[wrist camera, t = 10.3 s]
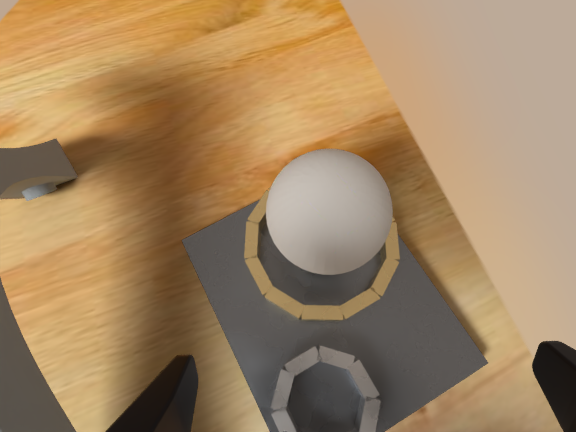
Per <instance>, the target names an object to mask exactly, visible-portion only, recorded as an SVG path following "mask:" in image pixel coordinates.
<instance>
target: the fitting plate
mask: <svg viewBox="0 0 576 432" xmlns="http://www.w3.org/2000/svg"><path fill="white" fill-rule="evenodd" d="M270 189H271V187H270V188H269V191H270ZM269 191H268V190H266V192H265V193H264V195H263V196H262V198H261V199H260V200H258V201H256V202H254V203H252V204H251V205H249V206H247V207H245V208H243V209H241V210H239V211H237V212H235V213H233V214H231V215H229V216H227V217H225V218H224V219H222V220H220V221H218V222H216V223H214V224H212V225H210V226H208V227H206V228H204V229H202V230H200V231H198V232H197V233H195V234H193V235H191V236H189V237H187V238H185V239H183V240H182V242H183V244H184V247H185V249H186V251H187V253H188V255H189V257H190V260H191V262H192V264H193V266H194V268H195V270H196V273H197V275H198V277H199V279H200V281H201V283H202V286H203V288H204V290H205V292H206V294H207V296H208V299H209V301H210V303H211V305H212V307H213V309H214V312H215V314H216V316H217V318H218V320H219V322H220V325H221V327H222V329H223V331H224V333H225V335H226V338H227V340H228V342H229V344H230V346H231V348H232V351H233V353H234V355H235V357H236V359H237V361H238V364H239V366H240V368H241V370H242V372H243V374H244V377H245V379H246V381H247V383H248V385H249V387H250V390H251V392H252V394H253V396H254V398H255V400H256V403H257V405H258V407H259V409H260V411H261V413H262V416H263V418H264V420H265V422H266V424H267V426H268V429H269V431H270V432H385V431H386V430H388V429H389V428H391V427H392V426H394V425H395V424H397V423H398V422H400V421H401V420H403V419H404V418H406V417H407V416H409V415H411V414H412V413H414V412H415V411H417V410H418V409H420V408H421V407H423V406H424V405H426V404H427V403H429V402H430V401H432V400H433V399H435V398H436V397H438V396H439V395H441V394H442V393H444V392H445V391H447V390H448V389H450V388H451V387H453V386H454V385H456V384H457V383H459V382H460V381H462V380H463V379H465V378H466V377H468V376H469V375H471V374H473V373H474V372H476V371H477V370H479V369H480V368H482V367H483V366H485V365H486V364H488V362H487V360H486V359H485V357H484V356H483V355H482V353H481V352H480V350H479V349H478V347H477V346H476V345H475V343H474V342H473V340H472V339H471V337H470V336H469V335H468V333H467V332H466V330H465V329H464V327H463V326H462V325H461V323H460V322H459V320H458V319H457V318H456V316H455V315H454V313H453V312H452V310H451V309H450V308H449V306H448V305H447V303H446V302H445V300H444V299H443V298H442V296H441V295H440V293H439V292H438V290H437V289H436V288H435V286H434V285H433V283H432V282H431V280H430V279H429V278H428V276H427V275H426V273H425V272H424V270H423V269H422V268H421V266H420V265H419V263H418V262H417V261H416V259H415V258H414V256H413V255H412V253H411V252H410V251H409V249H408V248H407V246H406V245H405V243H404V242H403V241H402V239H401V238H400V236H399V235H398V233H397V223H396V222H394V221H395V219H394V217H393V216H392V224H391V228H390V231H389V234H388V236H387V239H386V241H385V243H384V244H383V246H382V247H381V249H380V250H379V251H378V253H377V254H376V255H375V256H374V257H373V258H372V259H371V260H369V261H368V262H367V263H365V264H364V265H362V266H361V267H359V268H357V269H354V270H352V271H349V272H346V273H342V274H335V275H322V274H317V273H312V272H309V271H306V270H304V269H302V268H300V267H298V266H296V265H294V264H293V263H292V262H290V261H289V260H288V259H287V258H286V257H285V256H284V255H283V254H282V253H281V252H280V251H279V249H278V248H277V247H276V245H275V244H274V242H273V240H272V237H271V235H270V233H269V229H268V226H267V219H266V203H267V199H268V194H269Z"/></svg>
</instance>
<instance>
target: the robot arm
mask: <svg viewBox="0 0 576 432" xmlns="http://www.w3.org/2000/svg"><path fill="white" fill-rule="evenodd" d="M532 368H533V372H534V375H535V377H536V379H537V381H538V383H539V385H540V387H541V389H542V391H543V393H544V395H545V396H546V398H547V400H548V402H549V404H550V406H551V408H552V410H553V412H554V414H555V416H556V418H557V420H558V422H559V424H560V426H561V428H562V429H563V431H564V432H576V350H575V349H573V348H571V347H569V346H567V345H566V344H564V343H562V342H559V341H543V342H541V343H540V344H539V346H538V349H537V352H536V355H535V358H534V360H533V364H532ZM197 388H198V374H197V370H196V365H195V361H194V358H193V356H192V355H177V356H176V357H174V358H173V360H172V361H171V362H170V363H169V364H168V365H167V366H166V367H165V368H164V369H163V370H162V371H161V372H160V374H159V375H158V376H157V377H156V378H155V379H154V380H153V381H152V382H151V383H150V384H149V385H148V386H147V388H146V389H145V390H144V391H143V392H142V393H141V394H140V395H139V396H138V397H137V398H136V399H135V400H134V401H133V403H132V404H131V405H130V406H129V407H128V408H127V409H126V410H125V411H124V412H123V413H122V414H121V415H120V417H119V418H118V419H117V420H116V421H115V422H114V423H113V424H112V425H111V426H110V427H109V428H108V429H107V430H106V432H191V426H192V420H193V413H194V407H195V401H196V395H197Z"/></svg>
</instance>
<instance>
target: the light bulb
mask: <svg viewBox="0 0 576 432" xmlns="http://www.w3.org/2000/svg"><path fill="white" fill-rule="evenodd" d="M392 215H393V209H392V200H391V196H390V192H389V189H388V187H387V185H386V182H385V181H384V179H383V178H382V176H381V175H380V173H379V172H378V171H377V170H376V169H375V167H373V166H372V165H371V164H370V163H369V162H368V161H366V160H365V159H363V158H361V157H360V156H358V155H356V154H353V153H351V152H348V151H344V150H339V149H320V150H315V151H311V152H308V153H306V154H303V155H301V156H299V157H297V158H296V159H294V160H293V161H291V162H290V163H289V164H288V165H286V166H285V167H284V168H283V170H282V171H281V172H280V173H279V174H278V176H277V177H276V179H275V180H274V182H273V184H272V186H271V189H270V191H269V194H268V199H267V203H266V219H267V226H268V229H269V233H270V235H271V237H272V240H273V242H274V244H275V245H276V247H277V248H278V249H279V251H280V252H281V253H282V254H283V255H284V256H285V257H286V258H287V259H288V260H289V261H290V262H292V263H293V264H294V265H296V266H298V267H300V268H302V269H304V270H306V271H309V272H312V273H317V274H322V275H335V274H342V273H346V272H349V271H352V270H354V269H357V268H359V267H361V266H362V265H364V264H365V263H367V262H368V261H369V260H371V259H372V258H373V257H374V256H375V255H376V254H377V253H378V251H379V250H380V249H381V247H382V246H383V244H384V243H385V241H386V239H387V236H388V234H389V231H390V228H391V224H392Z"/></svg>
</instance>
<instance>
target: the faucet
mask: <svg viewBox="0 0 576 432" xmlns="http://www.w3.org/2000/svg"><path fill="white" fill-rule="evenodd" d="M77 177H78V176H77V174H76V172H75V171H74V169H73V167H72V165H71V163H70V162H69V160H68V158H67V156H66V155H65V153H64V151H63V149H62V148H61V146H60V144H59V142H58V141H57V139H53V140H50V141H48V142H45V143H41V144H38V145H34V146H29V147H21V148H0V199H20V198H24V197H25V199H26V200H27V201H29V200H31V199H34V198H37V197H40V196H42V195H45V194H47V193H50V192H52V191H55V190H57V188H56V185H59V184H62V183H65V182H67V181H70V180H73V179H75V178H77ZM0 432H76V431H75V429H74V427H73V426H72V424H71V422H70V421H69V419H68V417H67V416H66V414H65V412H64V411H63V409H62V408H61V406H60V404H59V403H58V401H57V399H56V398H55V396H54V394H53V392H52V391H51V389H50V387H49V385H48V384H47V382H46V380H45V378H44V377H43V375H42V373H41V371H40V369H39V368H38V366H37V364H36V362H35V360H34V358H33V356H32V354H31V352H30V350H29V348H28V346H27V344H26V342H25V340H24V338H23V336H22V333H21V331H20V329H19V326H18V324H17V322H16V319H15V317H14V315H13V312H12V310H11V308H10V305H9V302H8V299H7V296H6V293H5V291H4V288H3V285H2V282H1V278H0Z"/></svg>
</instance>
